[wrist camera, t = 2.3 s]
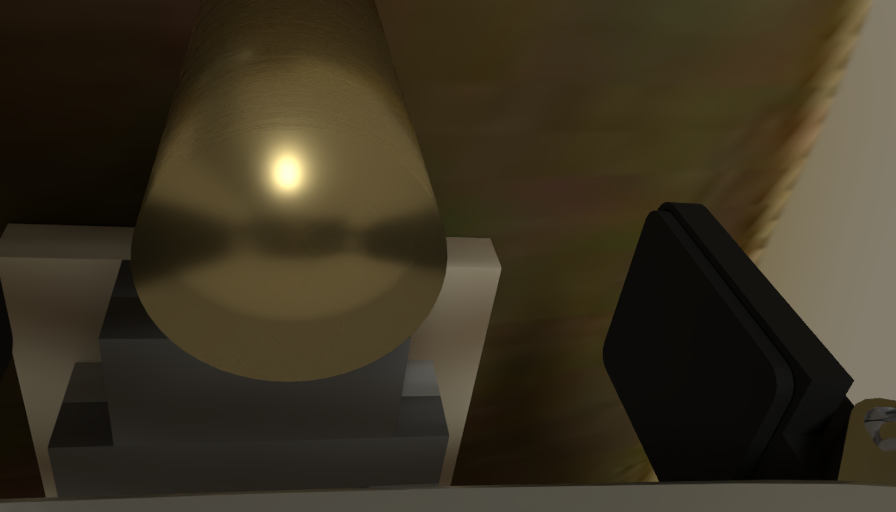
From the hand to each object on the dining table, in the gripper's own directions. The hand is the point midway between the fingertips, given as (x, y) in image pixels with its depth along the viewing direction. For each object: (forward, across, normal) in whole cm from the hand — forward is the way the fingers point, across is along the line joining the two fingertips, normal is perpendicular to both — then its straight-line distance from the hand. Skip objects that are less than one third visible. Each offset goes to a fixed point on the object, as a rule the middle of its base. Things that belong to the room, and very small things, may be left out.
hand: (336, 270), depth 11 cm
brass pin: (+9, +1, -1) cm, 9 cm away
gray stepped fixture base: (+9, +1, +14) cm, 17 cm away
